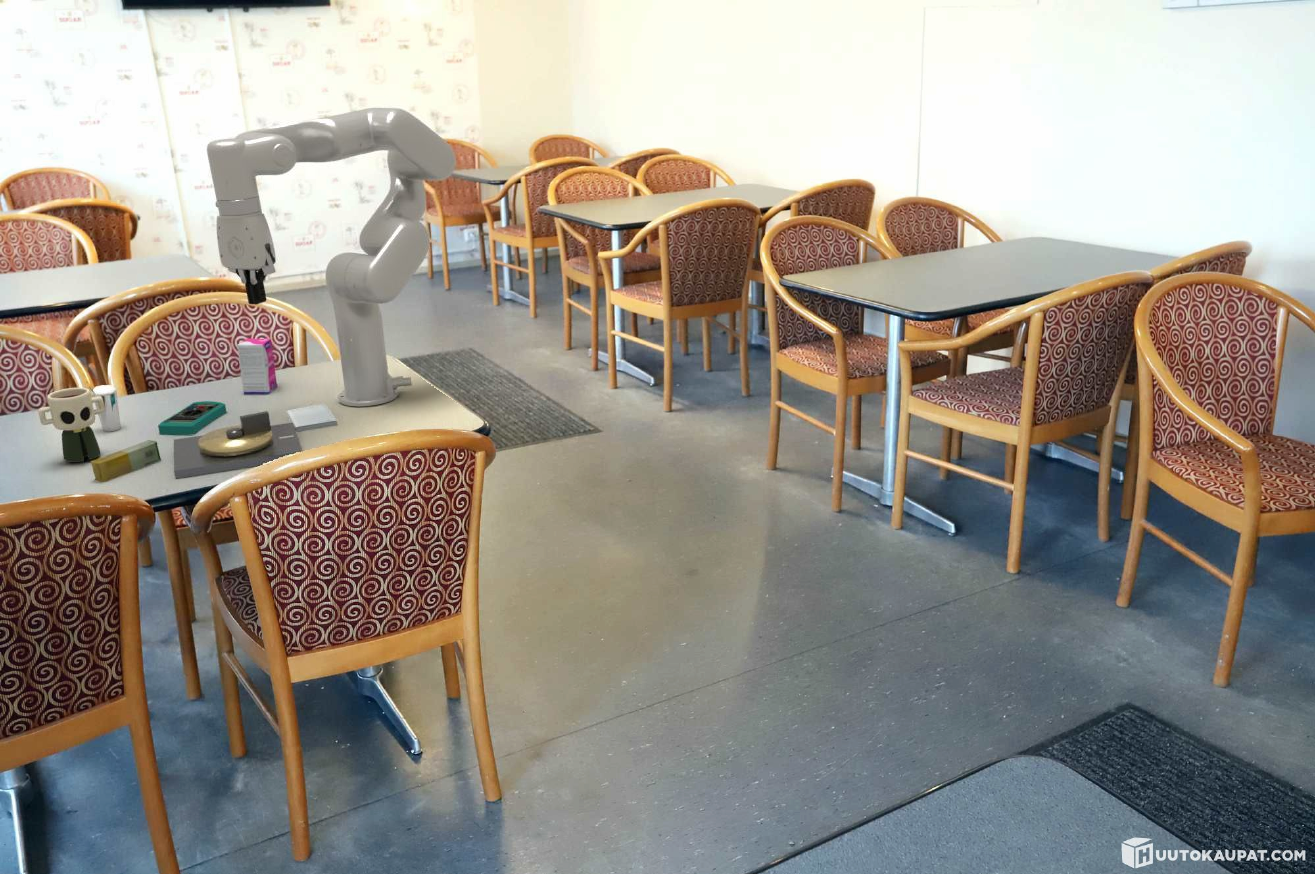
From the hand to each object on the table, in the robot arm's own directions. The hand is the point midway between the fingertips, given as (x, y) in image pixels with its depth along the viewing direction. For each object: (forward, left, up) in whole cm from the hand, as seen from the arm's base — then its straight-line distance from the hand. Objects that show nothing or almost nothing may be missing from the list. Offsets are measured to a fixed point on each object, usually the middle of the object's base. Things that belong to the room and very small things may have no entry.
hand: (257, 302), depth 206 cm
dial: (+8, +12, -24) cm, 28 cm away
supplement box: (+1, -28, -26) cm, 38 cm away
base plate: (+8, +12, -26) cm, 29 cm away
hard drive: (-7, -2, -27) cm, 27 cm away
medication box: (+27, +12, -26) cm, 39 cm away
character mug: (+35, +2, -26) cm, 44 cm away
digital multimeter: (+15, -11, -26) cm, 32 cm away
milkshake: (+31, -14, -26) cm, 43 cm away
